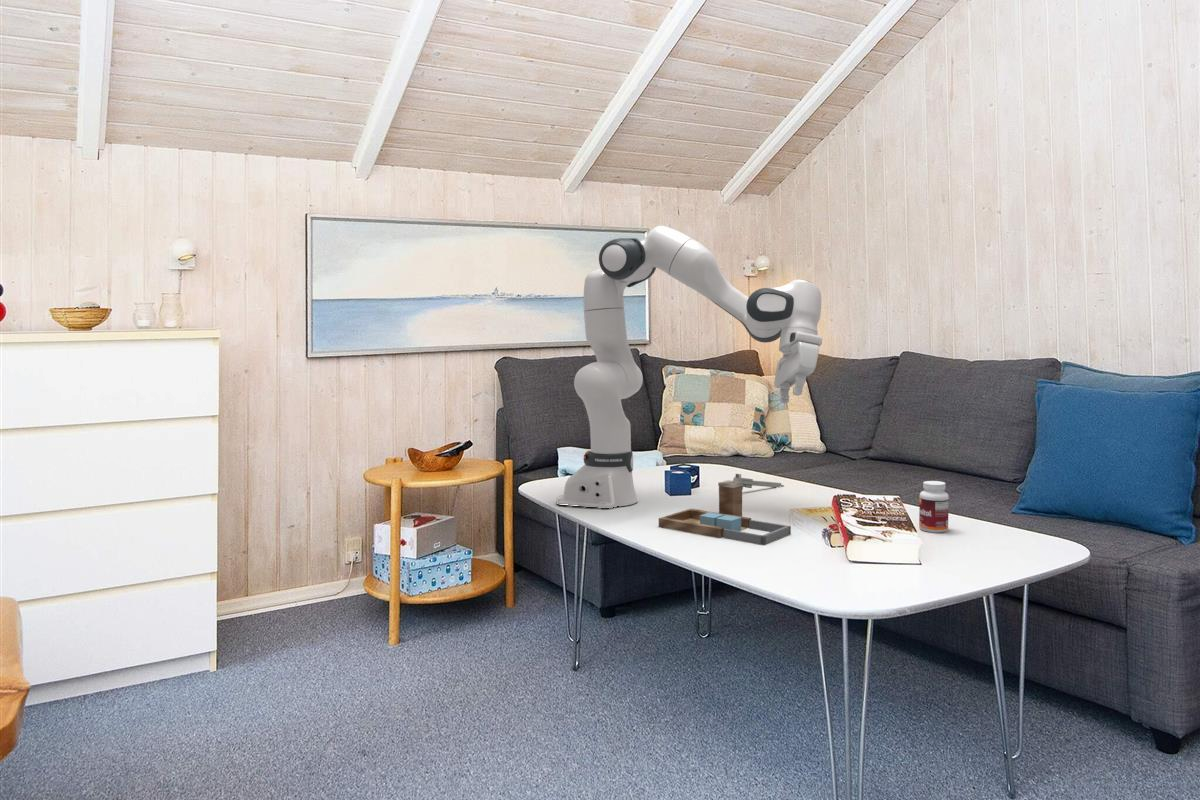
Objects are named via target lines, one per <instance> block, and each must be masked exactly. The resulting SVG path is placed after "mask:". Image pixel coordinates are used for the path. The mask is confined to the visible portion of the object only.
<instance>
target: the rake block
mask: <svg viewBox="0 0 1200 800" xmlns="http://www.w3.org/2000/svg"><path fill="white" fill-rule="evenodd" d="M717 483H718V485H717V486H718V513H722V514H729V515H735V516H741V517H743V490H742V485H743V482H739V481H733V480H730V479H727V480H723V481H720V482H717Z"/></svg>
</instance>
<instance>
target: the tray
mask: <svg viewBox="0 0 1200 800" xmlns="http://www.w3.org/2000/svg"><path fill="white" fill-rule="evenodd" d="M748 529H752V530H757V531H763V532H767V533H765V534H758V533H757V534H756V533H751V532H746V531H742V530H741V531H735V530H729V529H723V537H722V538H723V539H728V540H734V541H739V542H745V543H750V544H755V545H761V546H765V545H768V544H770V543H773V542H775V541H778V540H780V539H783V538H785V537H788V536H789V535H792V534H791V533H792V532H791V531H792V527H791V525H787V524H781V523H780V524H779V523H774V522H768V521H761V520H756V519H751V520H749V528H748Z"/></svg>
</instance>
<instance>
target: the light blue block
mask: <svg viewBox="0 0 1200 800" xmlns="http://www.w3.org/2000/svg"><path fill="white" fill-rule="evenodd" d="M716 526H717V527H723V528H724V529H729V530H735V531H741V532H742V530H741V517H735V516H729V515H725V516H722V517H719V518H716Z"/></svg>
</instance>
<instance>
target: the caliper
mask: <svg viewBox="0 0 1200 800" xmlns="http://www.w3.org/2000/svg"><path fill="white" fill-rule="evenodd" d="M732 481H739V482H743V485H742V491H743V489H744V488H746V489H752V487H768V488H775V487H778V488H781V487H785V485H784V484H782V483H781V482H776V481H764V480H754V479H752V478H746V477H742V474H740V473H735V476H733V480H732ZM780 486H781V487H780Z"/></svg>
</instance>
